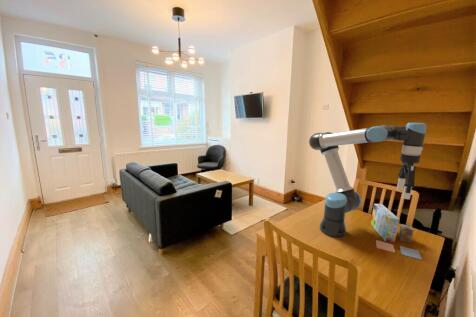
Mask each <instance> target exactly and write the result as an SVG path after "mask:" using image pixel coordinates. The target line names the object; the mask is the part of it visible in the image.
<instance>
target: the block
mask: <svg viewBox="0 0 476 317" xmlns="http://www.w3.org/2000/svg"><path fill="white" fill-rule="evenodd" d="M399 227H400V228H399V234H398V238H399V240H400V241H401V242H405V243H409V244H412V241H413V236H414V231H415V230H414V228H413V226H412V225H411V226H410V225H405V224H403V223H402V224H400V226H399Z"/></svg>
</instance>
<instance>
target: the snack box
mask: <svg viewBox="0 0 476 317" xmlns="http://www.w3.org/2000/svg"><path fill="white" fill-rule="evenodd" d="M371 213H372V215H371V221H370V225H371V226H372V227H373V229H374V230H375V232H376V233H378V234H379V236H380V237H381V238H382V239H383V242H386V243H390V244H395V243H396V238H397V234H398V230H399V225H400V218H399V217H398V216H396V215H395V214H394V213H393V212H392V211H390V210H389V208H387V207H386V206H385V205H384V204H381V203H373V207H372V212H371Z"/></svg>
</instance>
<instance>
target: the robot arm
mask: <svg viewBox="0 0 476 317" xmlns="http://www.w3.org/2000/svg"><path fill="white" fill-rule="evenodd" d="M426 131H427V124H426V123H424V122H407V124H405V126H402V125H401V126H399V125H387V124H386V125H383V124H382V125H376V126H371V127H367V128H366V127H364V128H360V129H353V130H345V131H339V132H338V131H337V132H329V131H328V132H327V131H326V132H316V133H313V134H312V135H311V136H310V137H309V140H308V144H309V147H310V148H312V149H313V150H315V151H320V154H321V155H323V156H324V158H325V161H326V163H327V167H328V169H329V172H330V175H331V178H332V181H333V183H334V184H333V185H334V186H335V191H334V192H330V193H328V194H326V196H325V199H324V200H325V201H324V209H323V210H324V211H323V218H322V219H321V222H320V224H319V230H320V231H321V232H322V233H323V234H324V235H327V236H329V237H332V238H333V237H335V238H343V237H345V236H346V235H347V228H346V224H345V218H346V217H345V216H346V214H347V213H350V212H353V211H356V210H357V209H359V207H360V206H361V205H362V196H361V195H360V194H359V193H358V192H357V191H355V188H354V187H352V186H351V184H350V183H349V180H348V176H347V174H346V172H345V168H344V166H343V163H342V160H341V157H340V154H339V149H340V147H339V146H345V145H346V146H347V145H357V144H364V143H365V144H366V143H379V142H386V141H395V142H396V141H397V142H403V143H402V147H401V154H400V159H399V161H400V162H401V166H400V169H399V171H398V174H397V176H398V179H397V181H398V182H397V185H396V190H397V191H403V192H402V197H401V198H402V199H404V200H410V199H411V194H412V189H413V188H414V187H415V180H416V169H417V168H416V167H417V166H415V165H414V164H418V163H420V159H421V156H420V155H421V154H422V151H423V150H424V147H423V146H424V141H425V137H426Z"/></svg>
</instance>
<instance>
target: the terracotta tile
mask: <svg viewBox="0 0 476 317" xmlns="http://www.w3.org/2000/svg"><path fill="white" fill-rule="evenodd" d="M375 244H376V249H378V250H379V249H380V250H381V251H382V250H384V251H386V252H389V253H396V251H395V248H394V243H391V242H385V241H381V240H377V239H375Z"/></svg>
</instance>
